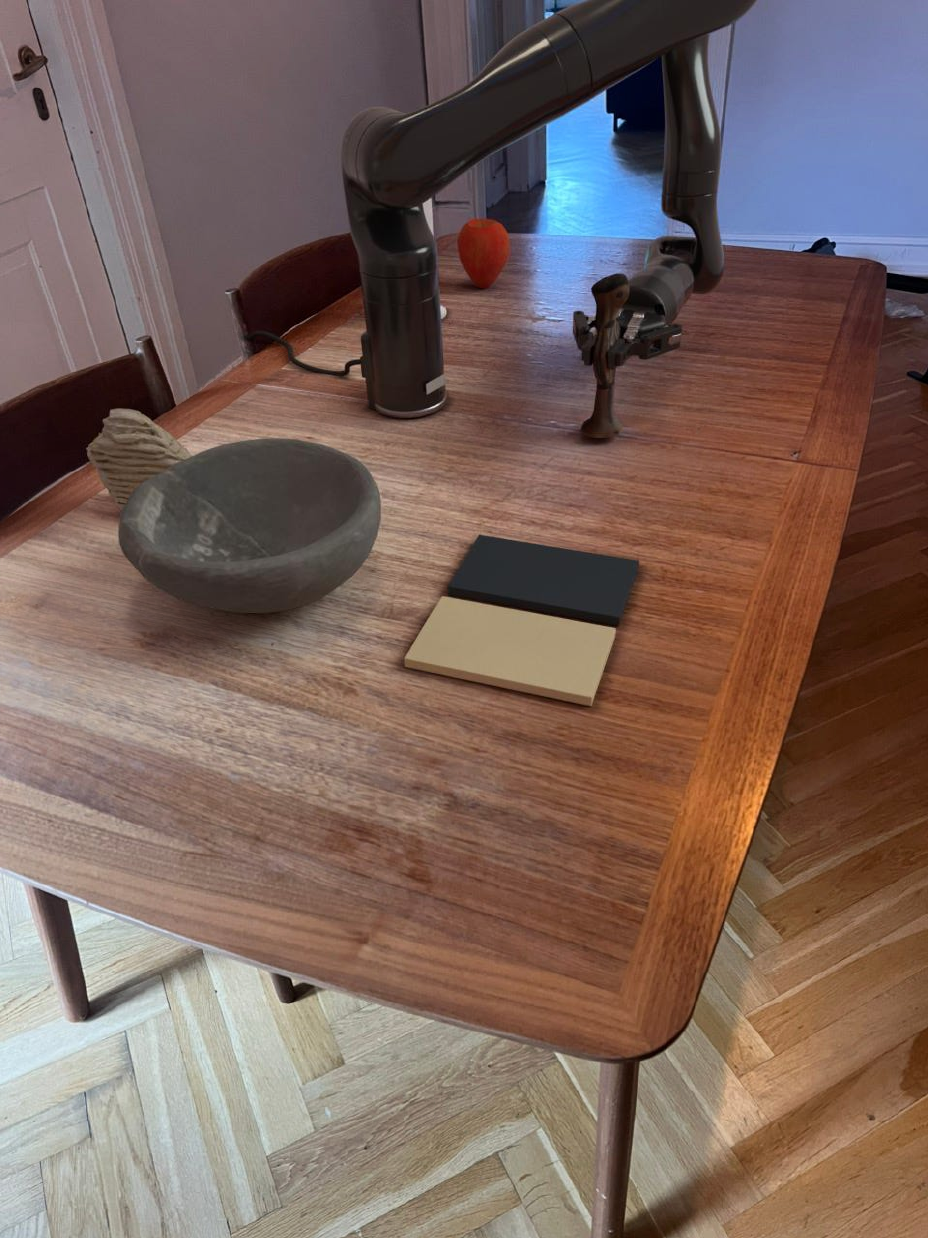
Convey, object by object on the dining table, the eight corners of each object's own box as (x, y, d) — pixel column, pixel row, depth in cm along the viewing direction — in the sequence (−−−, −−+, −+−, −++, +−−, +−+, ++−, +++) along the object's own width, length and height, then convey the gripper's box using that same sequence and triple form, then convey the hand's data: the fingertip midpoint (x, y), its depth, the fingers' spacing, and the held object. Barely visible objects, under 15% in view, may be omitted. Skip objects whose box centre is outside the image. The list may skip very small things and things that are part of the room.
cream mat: (404, 667, 74) (403, 658, 74) (442, 604, 81) (441, 595, 80) (591, 706, 70) (591, 697, 69) (615, 636, 76) (616, 627, 76)
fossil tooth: (212, 540, 93) (88, 511, 96) (240, 507, 98) (120, 480, 100) (193, 446, 85) (58, 417, 88) (225, 414, 90) (95, 388, 93)
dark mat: (448, 594, 82) (447, 586, 81) (479, 542, 89) (479, 534, 88) (618, 626, 77) (619, 617, 77) (638, 568, 84) (639, 560, 83)
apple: (519, 282, 149) (519, 214, 142) (493, 298, 144) (492, 227, 137) (476, 275, 153) (474, 208, 146) (449, 290, 148) (445, 221, 141)
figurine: (613, 448, 101) (625, 289, 89) (571, 441, 102) (577, 284, 91) (629, 419, 106) (642, 266, 95) (588, 414, 108) (596, 262, 96)
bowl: (280, 695, 72) (257, 598, 66) (96, 611, 82) (61, 520, 76) (435, 554, 87) (428, 464, 81) (264, 497, 97) (246, 413, 91)
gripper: (594, 267, 108) (540, 316, 96) (707, 280, 103) (665, 334, 91) (591, 328, 113) (539, 382, 101) (699, 343, 108) (657, 402, 96)
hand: (599, 359), depth 96 cm, fingers closed on figurine
